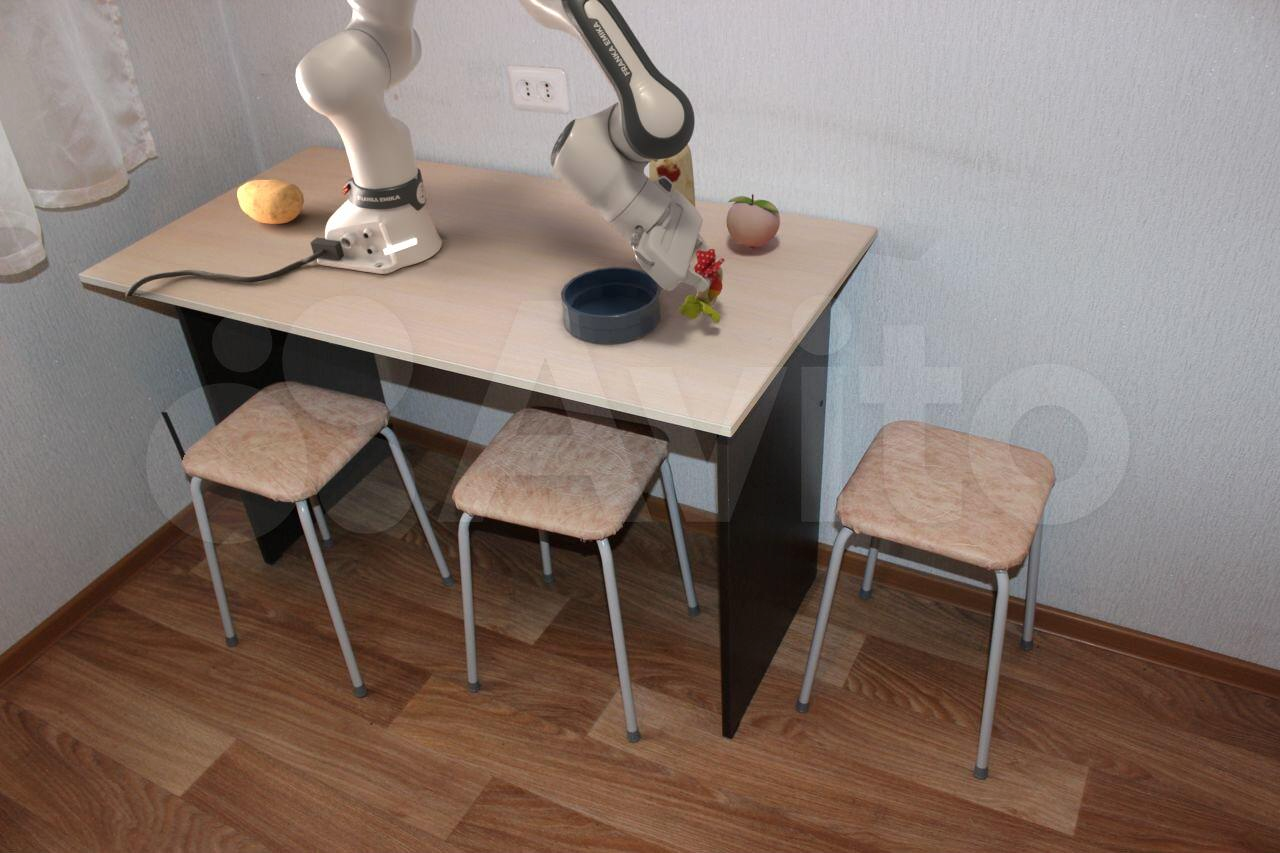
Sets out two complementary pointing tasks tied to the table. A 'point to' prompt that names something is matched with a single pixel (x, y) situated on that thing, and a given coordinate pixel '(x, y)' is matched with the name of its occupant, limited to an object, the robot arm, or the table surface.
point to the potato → (270, 201)
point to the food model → (676, 172)
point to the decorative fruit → (752, 221)
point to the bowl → (612, 304)
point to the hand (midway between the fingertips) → (710, 274)
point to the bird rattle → (709, 296)
